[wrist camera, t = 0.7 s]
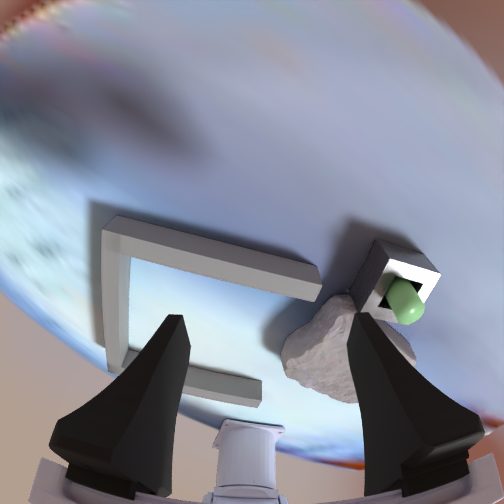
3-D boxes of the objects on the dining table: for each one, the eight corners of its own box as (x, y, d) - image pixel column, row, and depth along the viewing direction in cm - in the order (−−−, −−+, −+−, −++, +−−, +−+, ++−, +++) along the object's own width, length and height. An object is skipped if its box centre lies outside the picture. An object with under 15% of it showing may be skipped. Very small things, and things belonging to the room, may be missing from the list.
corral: (257, 388, 30) (257, 407, 28) (115, 354, 28) (108, 371, 26) (317, 266, 23) (322, 285, 20) (116, 215, 21) (101, 229, 19)
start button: (396, 293, 23) (414, 326, 19) (374, 288, 22) (391, 322, 19) (409, 271, 22) (430, 302, 18) (387, 265, 21) (406, 297, 18)
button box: (397, 302, 24) (409, 325, 22) (349, 291, 24) (358, 315, 21) (424, 254, 22) (440, 274, 19) (375, 238, 21) (389, 258, 19)
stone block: (345, 376, 32) (418, 338, 27) (345, 412, 28) (426, 378, 23) (267, 330, 29) (346, 276, 24) (259, 371, 25) (349, 321, 20)
